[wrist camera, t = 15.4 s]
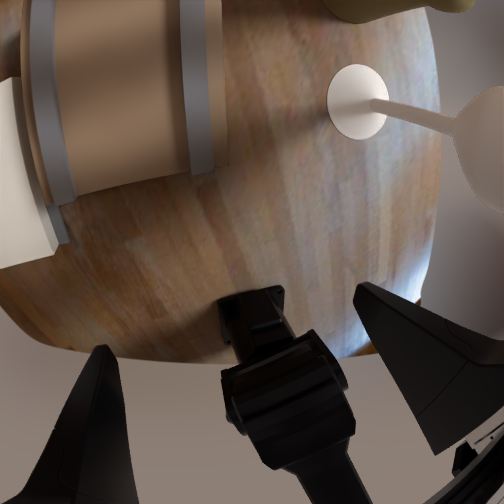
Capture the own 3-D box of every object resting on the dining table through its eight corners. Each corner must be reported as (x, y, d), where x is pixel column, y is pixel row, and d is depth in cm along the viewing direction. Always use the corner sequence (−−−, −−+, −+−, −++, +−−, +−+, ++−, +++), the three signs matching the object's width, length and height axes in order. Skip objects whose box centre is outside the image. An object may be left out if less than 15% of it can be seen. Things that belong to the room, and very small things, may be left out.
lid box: (215, 150, 18) (232, 169, 15) (64, 182, 16) (41, 210, 12) (207, -22, 11) (223, -50, 7) (46, 12, 8) (17, -4, 5)
